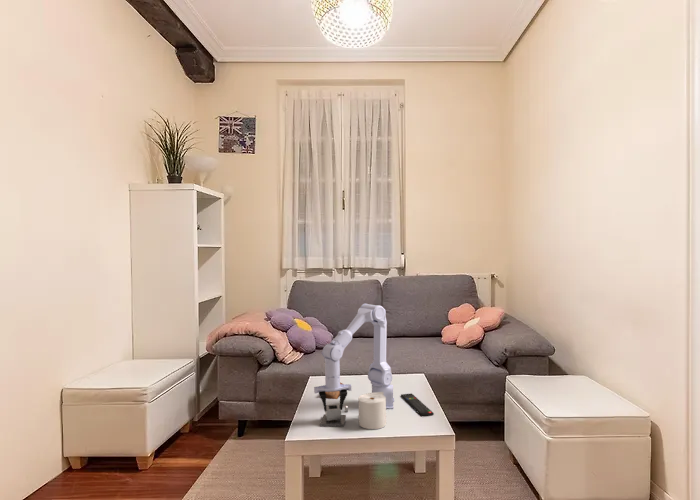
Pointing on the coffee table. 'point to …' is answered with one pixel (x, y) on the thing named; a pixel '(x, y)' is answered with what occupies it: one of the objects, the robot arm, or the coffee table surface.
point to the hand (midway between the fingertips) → (333, 409)
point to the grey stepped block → (333, 412)
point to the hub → (333, 422)
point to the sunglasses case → (333, 394)
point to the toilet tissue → (372, 410)
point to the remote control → (417, 405)
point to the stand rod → (346, 408)
